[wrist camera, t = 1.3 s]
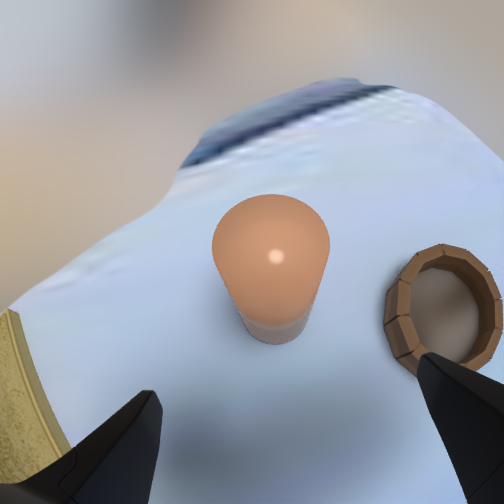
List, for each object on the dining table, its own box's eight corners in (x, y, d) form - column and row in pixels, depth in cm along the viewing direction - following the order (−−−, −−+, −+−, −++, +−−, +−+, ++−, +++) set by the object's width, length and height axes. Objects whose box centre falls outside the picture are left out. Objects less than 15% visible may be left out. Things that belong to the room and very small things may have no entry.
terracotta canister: (321, 309, 22) (352, 237, 12) (276, 358, 20) (273, 324, 11) (274, 270, 24) (267, 178, 14) (229, 313, 22) (189, 245, 13)
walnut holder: (497, 306, 20) (515, 295, 17) (448, 404, 17) (468, 403, 14) (421, 239, 24) (434, 222, 21) (359, 329, 21) (370, 319, 18)
